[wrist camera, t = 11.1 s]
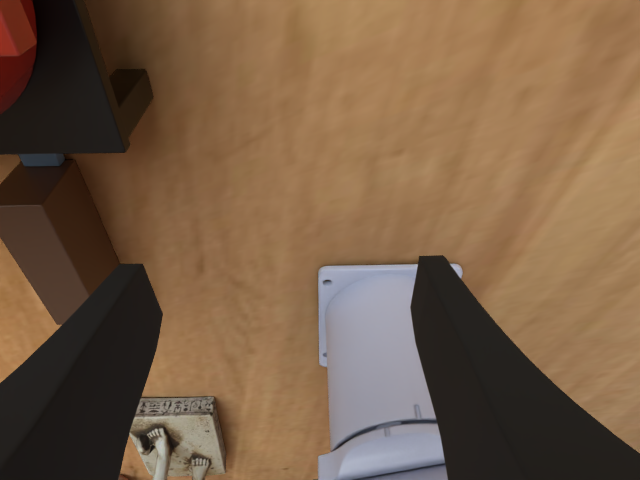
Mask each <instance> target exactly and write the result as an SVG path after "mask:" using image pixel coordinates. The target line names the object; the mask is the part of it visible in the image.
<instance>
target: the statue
mask: <svg viewBox="0 0 640 480" xmlns="http://www.w3.org/2000/svg"><path fill="white" fill-rule="evenodd" d="M129 435H130V436H131V438H132V440H133V442H134V444H135V446H136V448H137V450H138V452H139V454H140V456H141V458H142V460H143V462H144V464H145V466H146V468H147V470H148V472H149V474H150V475H152V476H153V479H152V480H167V476H192V478H193V480H205V476H206V475H218V474H224V473H226V451H225V447H224V442H223V438H222V432H221V428H220V424H219V420H218V414H217V410H216V405H215V399H214V397H195V398H141V399H140V402H139V405H138V408H137V411H136V414H135V417H134V420H133V423H132V426H131V429H130V433H129Z"/></svg>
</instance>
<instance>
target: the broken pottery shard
mask: <svg viewBox="0 0 640 480" xmlns="http://www.w3.org/2000/svg"><path fill="white" fill-rule="evenodd" d="M118 480H129V479H128V478H126V477H124V476H123V475H119V479H118Z"/></svg>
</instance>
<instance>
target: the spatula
mask: <svg viewBox="0 0 640 480" xmlns="http://www.w3.org/2000/svg"><path fill="white" fill-rule="evenodd" d="M18 155H19V157H20V159H21V162H20V163H19V164H18V165H17V167H16V168H15V169H14V170H13V171H12V172H11V173H10V174H9V175H8V176H7V178H6V179H5V180H4V181H3V182H2V183H1V184H0V238H1V239H2V241H3V242H4V244H5V245H6V247H7V248H8V250H9V252H10V253H11V255H12V256H13V258H14V259H15V261H16V262H17V264H18V265H19V267H20V268H21V270H22V272H23V273H24V275H25V276H26V278H27V279H28V281H29V282H30V284H31V285H32V287H33V289H34V290H35V292H36V293H37V295H38V296H39V298H40V299H41V301H42V302H43V304H44V306H45V307H46V309H47V310H48V312H49V313H50V315H51V316H52V318H53V319H54V321H55V322H56V324H57V325H63V324H64V323H65V322H66V320H67V319H68V318H69V317H70V316H71V315H72V314H73V313H74V312H75V311H76V310H77V309H78V308H79V307H80V306H81V305H82V304H83V303H84V302H85V300H86V299H87V298H88V297H89V296H90V295H91V294H92V293H93V292H94V291H95V290H96V289H97V288H98V286H99V285H100V284H101V283H102V282H103V281H104V280H105V279H106V278H107V277H108V276H109V275H110V274H111V273H112V271H113V270H114V269H115V268H116V267H117V266H118V265H119V264H120V263H119V261H118V259H117V256H116V254H115V252H114V250H113V247H112V245H111V243H110V240H109V238H108V236H107V233H106V231H105V229H104V226H103V224H102V222H101V219H100V217H99V215H98V212H97V210H96V208H95V206H94V203H93V201H92V199H91V196H90V194H89V192H88V189H87V187H86V185H85V182H84V180H83V178H82V175H81V173H80V171H79V168H78V166H77V164H76V162H75V160H65V157H64V155H63V154H18Z"/></svg>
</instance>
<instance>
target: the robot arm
mask: <svg viewBox="0 0 640 480" xmlns="http://www.w3.org/2000/svg"><path fill="white" fill-rule="evenodd" d="M462 274H463V271H462V268H461V266H460V265H458V264H450V263H449V262H448V260H447V259H446V258H445V257H444V256H443V255H442V256H419V262H418V264H401V265H346V266H324V267H321V268H320V269H319V271H318V301H319V364H320V365H321V366H323V367H327V372H328V398H329V425H330V451H331V452H330V453H327V454H323V455H319V456H318V479H314V480H640V453H638V452H637V451H636V450H634V449H633V448H632V447H630V446H629V445H627V444H626V443H625V442H623V441H622V440H621V439H619V438H618V437H617V436H616V435H614V434H613V433H612V432H611V431H609V430H608V429H607V428H606V427H604V426H603V425H602V424H601V423H600V422H598V421H597V420H596V419H595V418H593V417H592V416H591V415H590V414H589V413H587V412H586V411H585V410H584V409H582V408H581V407H580V406H579V405H578V404H576V403H575V402H574V401H573V400H572V399H571V398H570V397H568V396H567V395H566V394H565V393H564V392H563V391H562V390H561V389H560V388H558V387H557V386H556V385H555V384H554V383H553V382H552V381H551V380H550V379H549V378H548V377H547V376H546V375H545V374H543V373H542V372H541V371H540V370H539V369H538V368H537V367H536V366H535V365H534V364H533V363H532V362H531V361H530V360H529V359H528V358H527V357H526V356H525V355H524V354H523V352H522V351H521V350H520V349H519V348H518V347H517V346H516V345H515V344H514V343H513V342H512V341H511V340H510V338H509V337H508V336H507V335H506V334H505V333H504V332H503V331H502V329H501V328H500V327H499V326H498V325H497V324H496V323H495V321H494V320H493V319H492V318H491V317H490V315H489V314H488V313H487V312H486V310H485V309H484V308H483V307H482V306H481V304H480V303H479V302H478V301H477V299H476V298H475V297H474V296H473V294H472V293H471V292H470V290H469V289H468V288H467V286H466V285H465V284H464V282H463V281H462V280H461V277H462ZM325 280H329V281H325ZM162 316H163V313H162V311H161V308H160V306H159V303H158V301H157V298H156V296H155V293H154V291H153V288H152V286H151V283H150V281H149V278H148V276H147V273H146V271H145V268H144V266H143V264H119V265H118V266H117V267H116V268H115V269H114V270H113V271H112V273H111V274H110V275H109V276H108V277H107V278H106V279H105V280H104V281H103V282H102V283H101V284H100V285H99V286H98V288H97V289H96V290H95V291H94V292H93V293H92V294H91V295H90V296H89V297H88V298H87V299H86V300H85V302H84V303H83V304H82V305H81V306H80V307H79V308H78V309H77V310H76V311H75V312H74V313H73V314H72V315H71V316H70V317H69V318H68V319H67V320H66V322H65V323H64V324H63V325H62V326H61V327H60V328H59V329H58V330H57V331H56V332H55V333H54V334H53V335H52V336H51V337H50V338H49V339H48V340H47V341H46V342H45V343H44V344H43V345H41V346H40V347H39V348H38V349H37V350H36V351H35V352H34V353H33V354H32V355H31V356H30V357H29V358H28V359H27V360H26V361H25V362H24V363H23V364H22V365H20V366H19V367H18V368H17V369H16V370H15V371H14V372H13V373H11V374H10V375H9V376H8V377H7V378H6V379H5V380H3V381H2V382H1V383H0V480H118V479H119V474H120V470H121V465H122V461H123V456H124V452H125V447H126V444H127V440H128V436H129V433H130V429H131V426H132V423H133V420H134V417H135V414H136V411H137V408H138V405H139V402H140V399H141V396H142V393H143V390H144V387H145V384H146V381H147V378H148V374H149V371H150V368H151V365H152V362H153V359H154V355H155V352H156V348H157V343H158V338H159V333H160V327H161V322H162Z"/></svg>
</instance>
